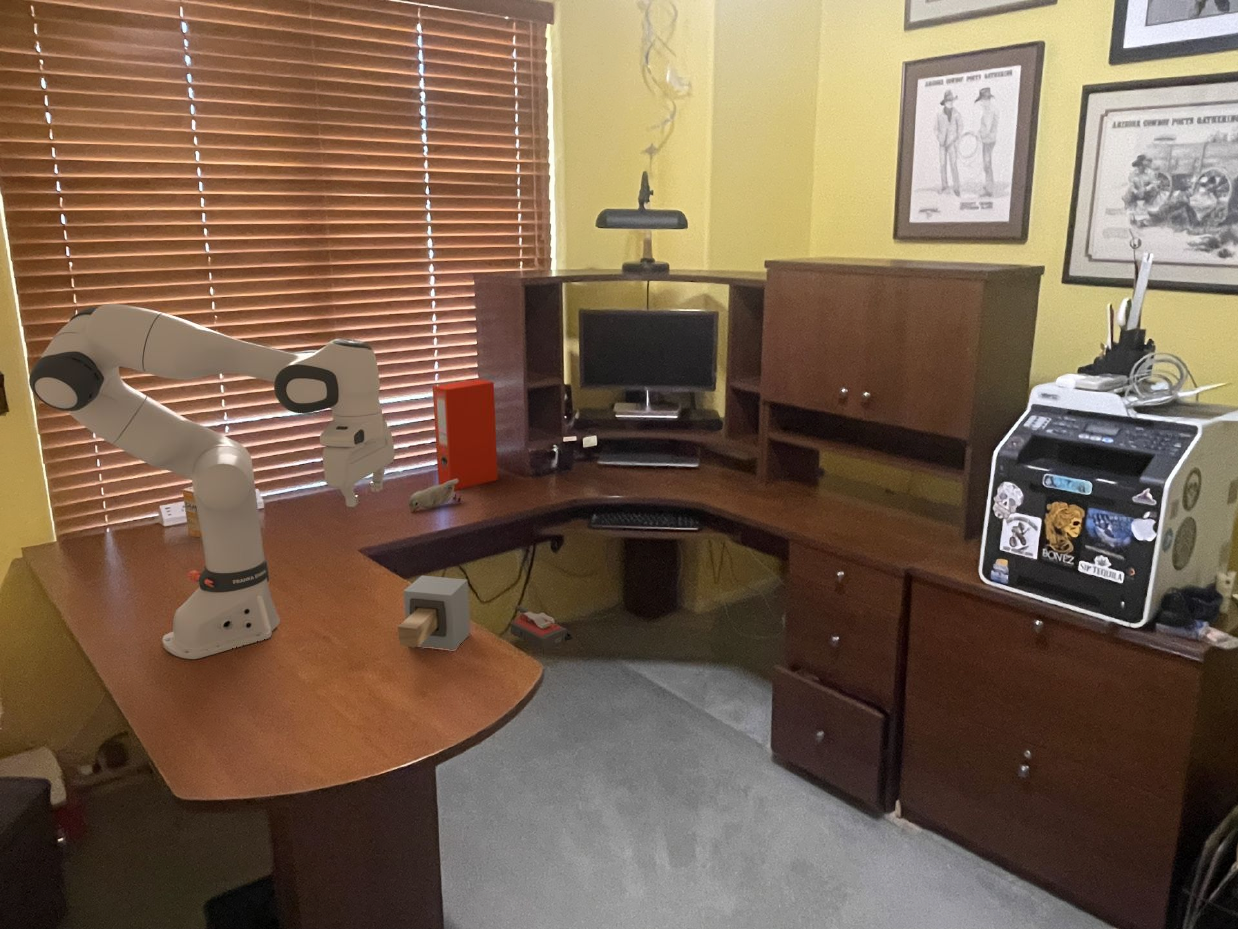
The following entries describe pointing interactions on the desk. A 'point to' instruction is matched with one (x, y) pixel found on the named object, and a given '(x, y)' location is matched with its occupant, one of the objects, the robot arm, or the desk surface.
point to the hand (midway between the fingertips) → (365, 497)
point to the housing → (442, 608)
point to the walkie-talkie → (538, 629)
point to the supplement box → (191, 512)
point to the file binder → (465, 432)
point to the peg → (418, 626)
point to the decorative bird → (433, 496)
